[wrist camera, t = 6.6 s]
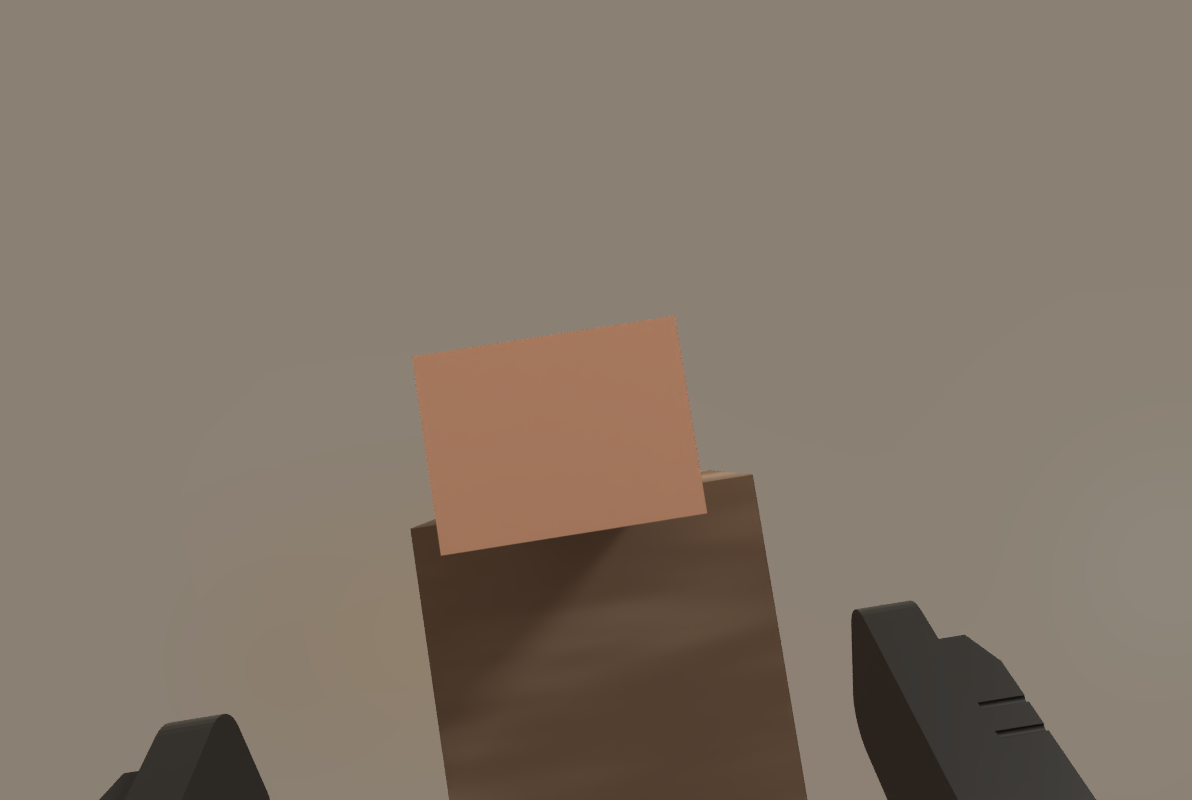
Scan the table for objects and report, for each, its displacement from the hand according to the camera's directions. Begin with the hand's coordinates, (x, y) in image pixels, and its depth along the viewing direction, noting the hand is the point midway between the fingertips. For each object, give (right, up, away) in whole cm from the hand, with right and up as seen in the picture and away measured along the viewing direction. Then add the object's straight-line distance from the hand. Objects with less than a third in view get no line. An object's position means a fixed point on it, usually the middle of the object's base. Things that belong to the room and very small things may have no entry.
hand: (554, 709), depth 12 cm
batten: (0, +1, +14) cm, 14 cm away
